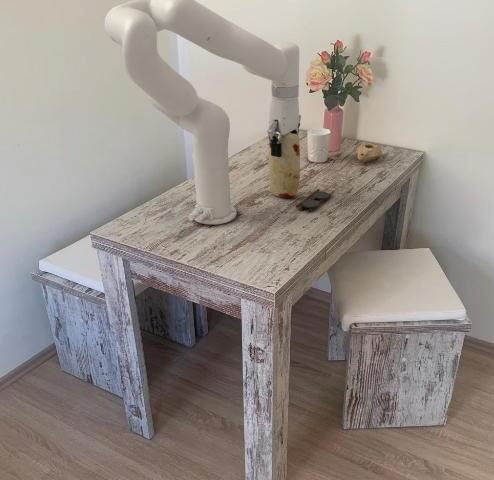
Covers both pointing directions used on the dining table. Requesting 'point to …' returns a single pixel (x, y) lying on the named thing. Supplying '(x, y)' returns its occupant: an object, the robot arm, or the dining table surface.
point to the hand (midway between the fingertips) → (284, 151)
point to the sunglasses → (313, 200)
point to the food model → (285, 167)
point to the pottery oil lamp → (368, 152)
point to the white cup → (318, 144)
